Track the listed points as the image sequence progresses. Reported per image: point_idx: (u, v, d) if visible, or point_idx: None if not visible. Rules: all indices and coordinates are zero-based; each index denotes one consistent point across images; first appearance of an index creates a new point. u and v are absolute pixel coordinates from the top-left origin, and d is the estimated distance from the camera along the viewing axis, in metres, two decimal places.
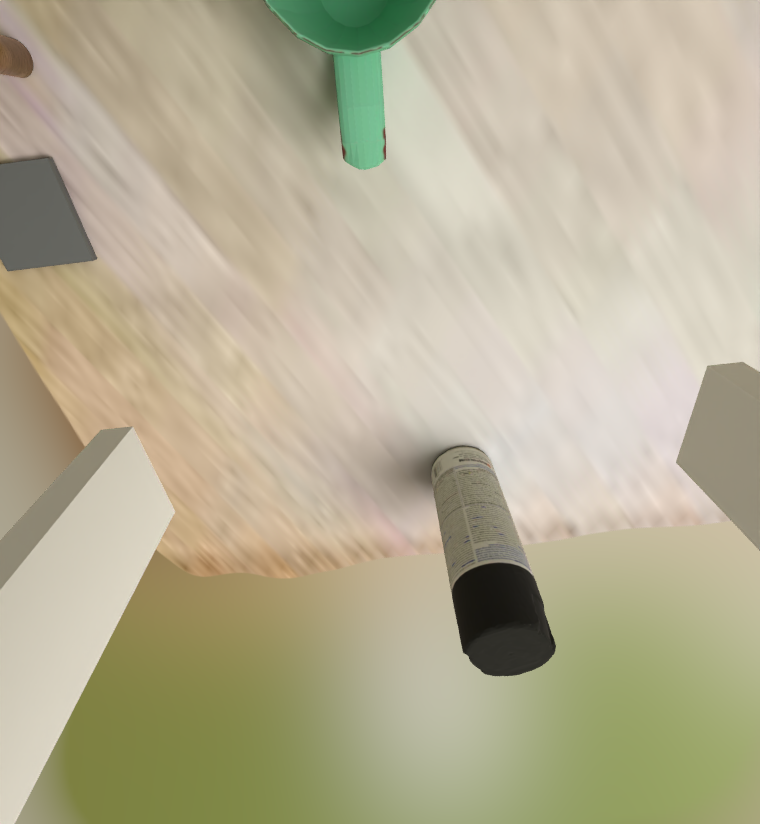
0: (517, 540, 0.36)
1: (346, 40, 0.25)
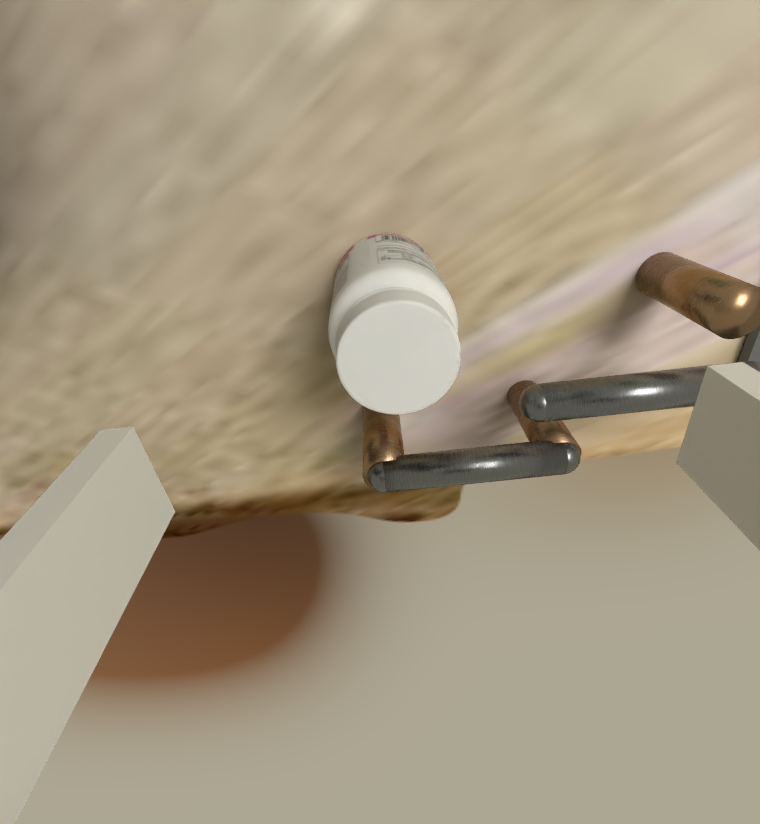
0: None
1: None
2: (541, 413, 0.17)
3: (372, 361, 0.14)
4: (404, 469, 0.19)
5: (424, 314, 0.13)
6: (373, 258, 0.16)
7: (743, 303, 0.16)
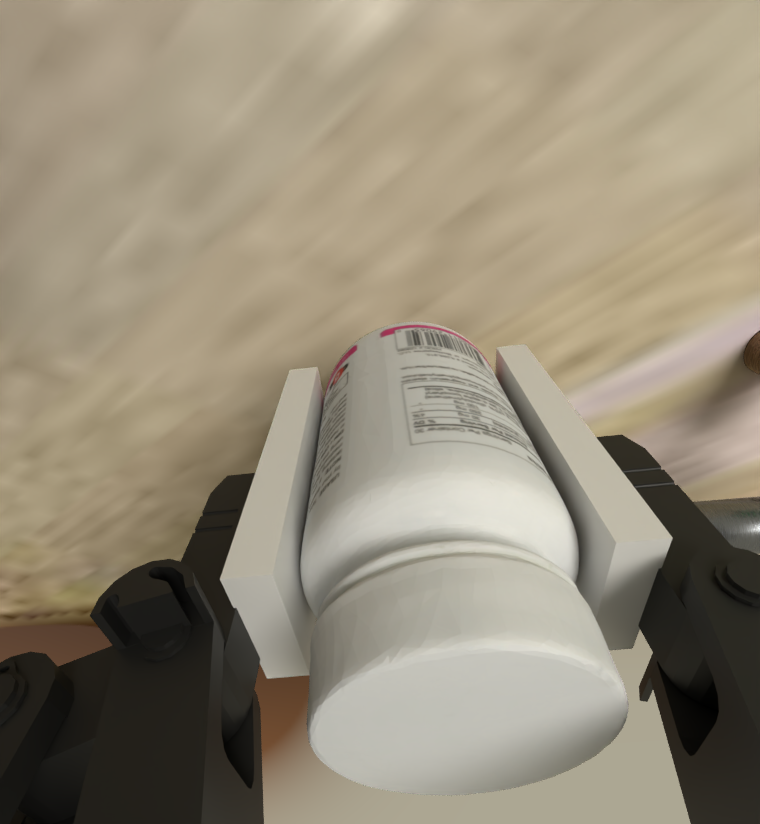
0: None
1: None
2: None
3: (401, 738, 0.05)
4: None
5: (549, 667, 0.05)
6: (397, 415, 0.07)
7: None
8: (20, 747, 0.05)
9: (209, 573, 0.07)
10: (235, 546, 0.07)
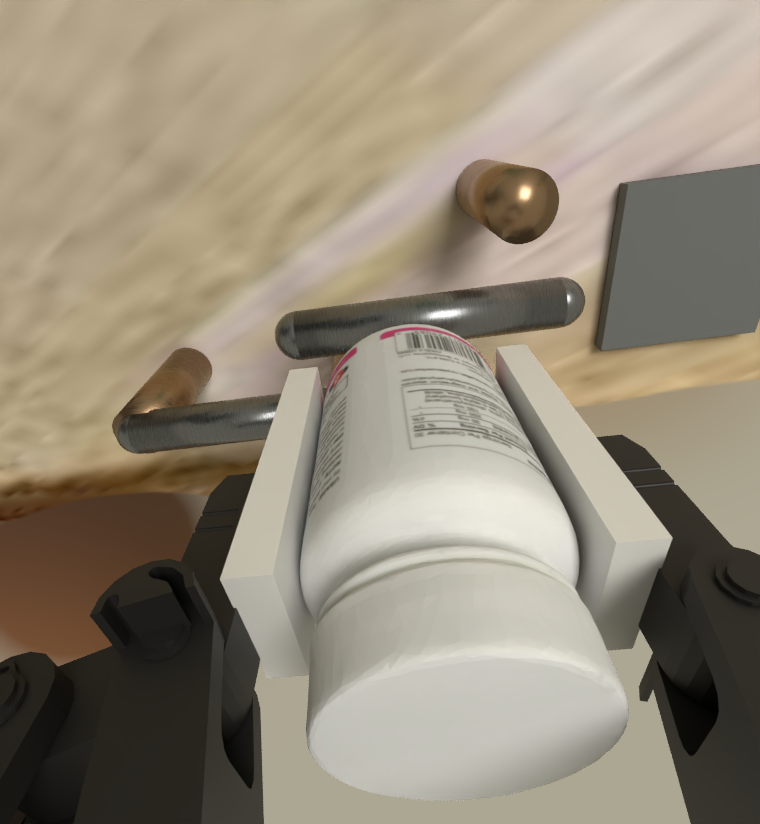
0: None
1: None
2: (291, 345, 0.14)
3: (401, 744, 0.05)
4: (152, 423, 0.16)
5: (549, 673, 0.05)
6: (396, 419, 0.07)
7: (521, 192, 0.12)
8: (20, 747, 0.05)
9: (209, 573, 0.07)
10: (235, 546, 0.07)
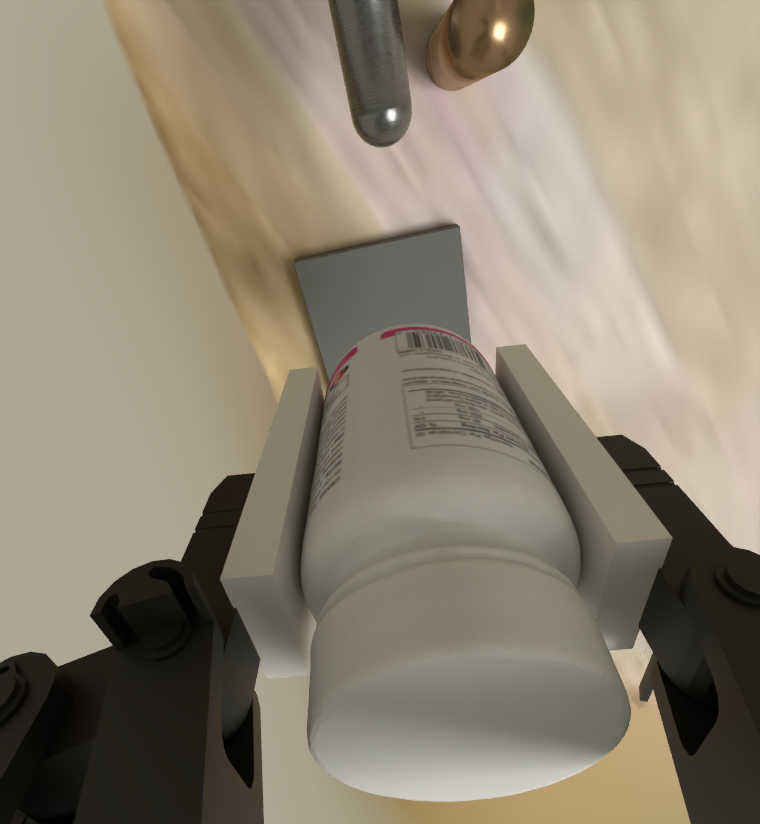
0: None
1: None
2: None
3: (402, 745, 0.05)
4: None
5: (551, 675, 0.05)
6: (397, 418, 0.07)
7: (509, 12, 0.10)
8: (20, 747, 0.05)
9: (209, 573, 0.07)
10: (235, 546, 0.07)
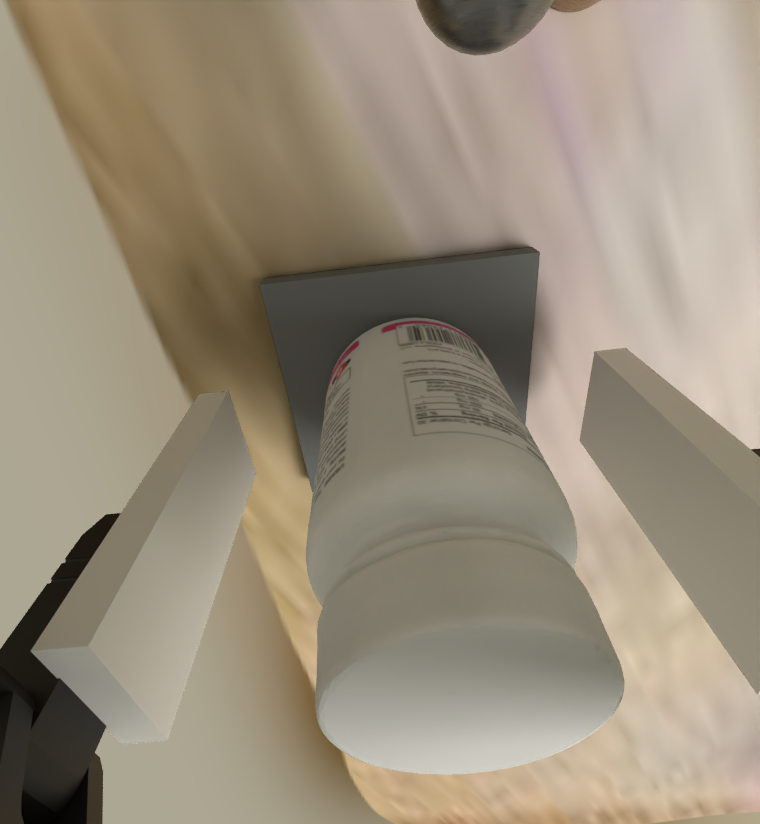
0: None
1: None
2: None
3: (405, 716, 0.06)
4: None
5: (549, 644, 0.05)
6: (399, 407, 0.08)
7: None
8: None
9: None
10: (63, 609, 0.06)
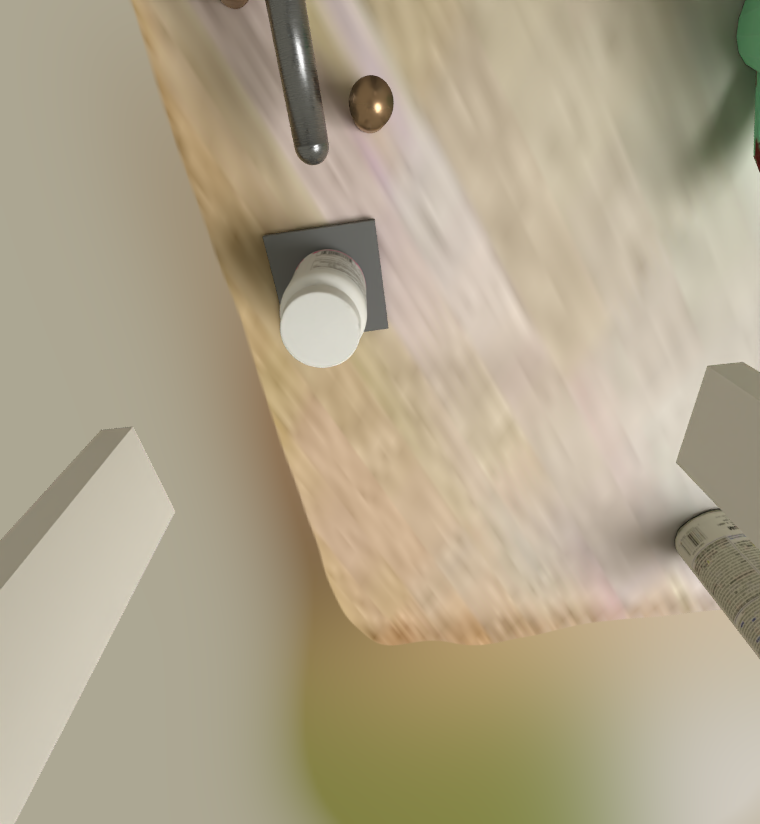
0: None
1: None
2: None
3: (303, 331, 0.21)
4: None
5: (331, 299, 0.21)
6: (309, 266, 0.24)
7: (380, 99, 0.20)
8: None
9: None
10: None
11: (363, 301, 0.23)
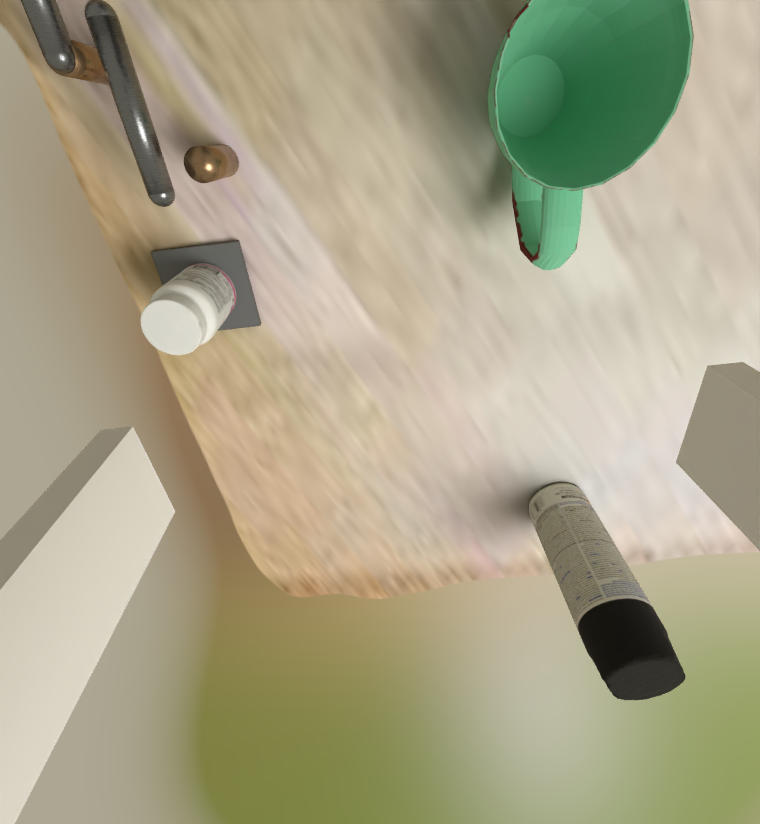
0: (633, 575, 0.40)
1: (530, 157, 0.29)
2: (93, 11, 0.23)
3: (158, 328, 0.29)
4: None
5: (175, 305, 0.29)
6: (173, 279, 0.31)
7: (206, 162, 0.27)
8: None
9: None
10: None
11: (211, 306, 0.31)
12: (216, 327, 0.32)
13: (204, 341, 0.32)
